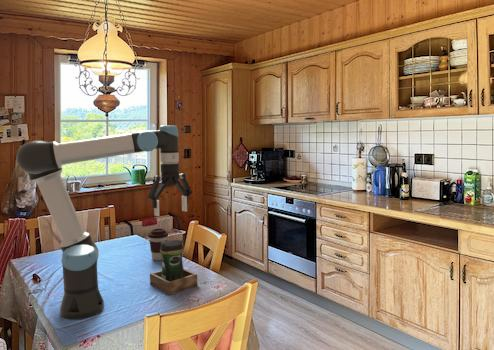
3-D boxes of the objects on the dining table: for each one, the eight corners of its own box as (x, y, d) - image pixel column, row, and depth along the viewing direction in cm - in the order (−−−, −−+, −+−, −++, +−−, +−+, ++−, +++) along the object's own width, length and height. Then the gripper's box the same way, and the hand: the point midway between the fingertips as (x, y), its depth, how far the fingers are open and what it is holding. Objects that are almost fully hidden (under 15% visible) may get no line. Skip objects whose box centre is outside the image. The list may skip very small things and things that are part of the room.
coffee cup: (146, 257, 215) (145, 229, 213) (164, 254, 220) (163, 226, 218) (153, 262, 207) (152, 233, 205) (172, 259, 212) (171, 230, 210)
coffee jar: (180, 277, 183) (179, 236, 181) (186, 283, 176) (185, 240, 174) (159, 281, 179) (157, 239, 177) (164, 287, 172) (163, 244, 170)
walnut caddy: (169, 294, 167) (169, 282, 166) (150, 284, 178) (149, 273, 177) (197, 285, 177) (197, 274, 176) (177, 276, 187) (177, 265, 187)
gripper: (147, 165, 160) (149, 219, 162) (199, 161, 177) (200, 210, 179) (137, 164, 165) (139, 216, 168) (189, 160, 182) (190, 208, 185)
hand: (171, 213), depth 173 cm, fingers open, 13 cm apart
